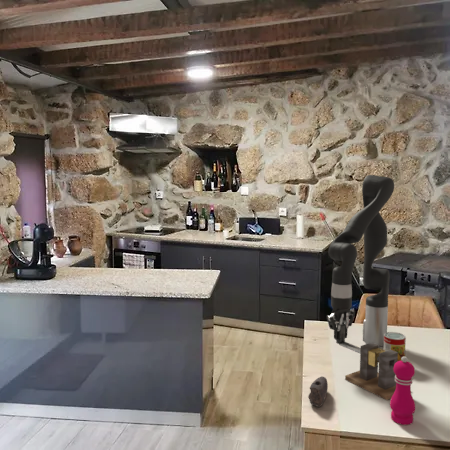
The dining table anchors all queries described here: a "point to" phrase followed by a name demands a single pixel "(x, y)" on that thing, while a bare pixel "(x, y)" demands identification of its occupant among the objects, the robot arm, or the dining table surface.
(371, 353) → the spacer
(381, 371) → the shaft stand
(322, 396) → the perforated stone tool
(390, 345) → the canned food
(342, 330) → the shaft
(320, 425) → the dining table surface
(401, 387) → the pepper mill
